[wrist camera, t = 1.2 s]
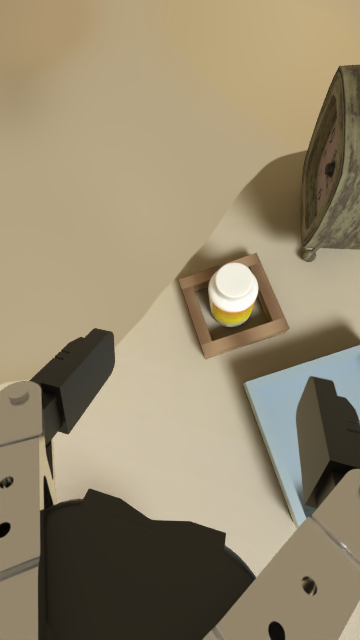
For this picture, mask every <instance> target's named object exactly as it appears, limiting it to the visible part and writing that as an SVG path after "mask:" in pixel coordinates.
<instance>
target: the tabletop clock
mask: <svg viewBox="0 0 360 640" xmlns="http://www.w3.org/2000/svg"><path fill="white" fill-rule="evenodd" d="M301 239H302V247H306V248H313V249H312V250H307V251H305V252H304V254H303V259H304V260H305V261H307V262H311V261H313V260H314V259H315V257H316V253H315V252H316V251H317V250H318V249H319V248H334V249H360V65H348V66H339V68H338V70H337V72H336V74H335V75H334V78H333V80H332V83H331V85H330V87H329V90H328V93H327V95H326V98H325V100H324V103H323V106H322V108H321V111H320V114H319V117H318V119H317V122H316V126H315V129H314V132H313V135H312V138H311V141H310V144H309V148H308V151H307V154H306V158H305V162H304V167H303V177H302V196H301Z"/></svg>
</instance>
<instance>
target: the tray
mask: <svg viewBox="0 0 360 640" xmlns="http://www.w3.org/2000/svg"><path fill="white" fill-rule="evenodd" d="M310 376H314V377H319V378H323V379H328V380H332V381H333V382H334V385H335V389H336V392H337V396H341V397H345V398H347V400H348V401H349V402H350V403H351V405H352V406H353V407H354V408H355V409H356V412H357V415H358V418H359V421H360V345H358V346H355V347H352V348H349V349H346V350H343V351H340V352H337V353H334V354H331V355H327V356H324V357H321V358H318V359H315V360H312V361H309V362H306V363H303V364H300V365H297V366H294V367H291V368H287V369H284V370H281V371H278V372H275V373H272V374H269V375H266V376H263V377H260V378H257V379H254V380H251V381H247V382H245V383H243V386H244V388H245V391H246V394H247V397H248V399H249V402H250V405H251V408H252V410H253V413H254V416H255V418H256V421H257V424H258V427H259V429H260V432H261V435H262V438H263V440H264V443H265V446H266V449H267V451H268V454H269V457H270V459H271V462H272V465H273V468H274V470H275V473H276V476H277V479H278V481H279V484H280V487H281V489H282V492H283V495H284V498H285V500H286V503H287V506H288V509H289V511H290V514H291V517H292V520H293V522H294V524H295V526H296V527H297V529H298V528H299V526H300V525H301V524H302V523H303V522H304V521H305V519H306V518H307V517H308V516H309V515H312V514H313V513H314V512H315V511H316V510H317V509H316V508H313V507H309V506H306V505H305V504H304V495H303V485H302V475H301V466H300V456H299V447H298V437H297V428H296V411H297V406H298V403H299V401H300V398H301V396H302V393H303V391H304V388H305V386H306V383H307V381H308V379H309V377H310Z"/></svg>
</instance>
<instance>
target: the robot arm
mask: <svg viewBox="0 0 360 640" xmlns="http://www.w3.org/2000/svg"><path fill="white" fill-rule="evenodd" d="M114 364H115V352H114V335H113V333H112V332H110V331H105V330H101V329H97V328H95V329H93V330H92V331H91V332H90V333H89V334H88V335H87V336H86V337H85V338H82V337H80V338H78V339H76V340H74V341H72V342H70V343H68V344H67V345H66V347H64V348H63V349H62V350H61V352H59V353H58V354H57V355H56V356H55V358H53V359H52V360H51V361H50V362H49V363H48V364H47V365H46V366H45V367H44V368H42V369H41V370H40V371H39V372H38V373H37V374H36V375H35V376H34V377H33V378H32V379H31V380H30V381H22V382H17V383H13V384H11V385H9V386H7V387H5V388H4V389H2V390H1V391H0V640H338V639H339V637H340V635H341V633H342V631H343V629H344V628H345V626H346V624H347V622H348V620H349V619H350V617H351V615H352V613H353V611H354V609H355V608H356V606H357V604H358V602H359V600H360V421H359V418H358V415H357V412H356V409H355V408H354V407H353V406H352V405H351V403H350V402H349V401H348V400H347V398H345V397H341V396H337V392H336V389H335V385H334V382H333V381H332V380H328V379H323V378H319V377H314V376H310V377H309V379H308V381H307V383H306V386H305V388H304V391H303V393H302V396H301V398H300V401H299V403H298V406H297V411H296V428H297V437H298V447H299V456H300V466H301V475H302V485H303V495H304V504H305V505H306V506H309V507H313V508H316V509H317V510H316V511H315V512H314V513H313V514H312V515H309V516H308V517H307V518H306V519H305V521H304V522H303V523H302V524H301V525H300V526H299V528H298V529H297V530H296V531H295V532H294V534H293V535H292V536H291V537H290V538H289V540H288V541H287V542H286V543H285V544H284V546H283V547H282V548H281V549H280V550H279V552H278V553H277V554H276V555H275V556H274V557H273V559H272V560H271V561H270V562H269V563H268V565H267V566H266V567H265V568H264V569H263V571H262V572H261V573H260V574H259V575H258V577H257V578H256V577H255V575H254V574H253V573H252V571H251V570H250V569H249V567H248V566H247V565H246V564H245V562H244V561H243V560H242V559H241V558H240V557H239V556H238V555H237V554H236V553H234V552H233V551H232V550H231V549H229V548H228V547H226V546H225V537H226V533H224V532H221V531H218V530H215V529H212V528H208V527H205V526H202V525H199V524H196V523H193V522H190V521H160V520H151V519H149V518H147V517H146V516H144V515H143V514H142V513H140V512H139V511H137V510H136V509H134V508H133V507H132V506H130V505H129V504H127V503H126V502H124V501H123V500H122V499H120V498H117V497H114V496H111V495H107V494H104V493H101V492H98V491H95V490H92V489H89V490H88V491H87V493H86V495H85V497H84V499H75V500H69V501H65V502H61V503H58V500H57V493H56V483H55V465H54V447H53V439H52V438H53V437H54V436H55V434H56V433H57V432H58V431H59V432H62V433H65V434H69V433H70V431H71V430H72V429H73V427H74V426H75V424H76V423H77V422H78V420H79V419H80V417H81V416H82V414H83V413H84V412H85V410H86V409H87V407H88V406H89V405H90V403H91V402H92V400H93V399H94V398H95V396H96V395H97V393H98V392H99V390H100V389H101V388H102V386H103V385H104V383H105V382H106V381H107V379H108V378H109V376H110V375H111V373H112V371H113V368H114Z"/></svg>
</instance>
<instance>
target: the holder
mask: <svg viewBox="0 0 360 640" xmlns="http://www.w3.org/2000/svg"><path fill="white" fill-rule="evenodd" d="M228 263H241V264H243V265H245V266H246V267H248V268H249V269H250V271H251V272H252V274H253V275H254V276H255V278H256V280H257V282H258V295H257V296H258V299H259V301H260V303H261V306H262V308H263V311H264V313H265V315H266V318H267V320H268V323H266V324H263V325H260V326H257V327H254V328H251V329H248V330H245V331H242V332H239V333H236V334H233V335H230V336H227V337H224V338H221V339H218V340H215V341H212V340H211V337H210V334H209V331H208V328H207V325H206V323H205V320H204V317H203V314H202V311H201V308H200V305H199V303H198V300H197V297H196V294H195V292H196V291H199V290H202V289H205V288H208V287H209V282H210V280H211V278H212V276H213V275H214V274H215V273H216V272H217V271H218V270H219V269H220V268H221V267H222V266H224V265H226V264H228ZM228 263H225V264H222V265H219V266H217V267H214V268H211V269H208V270H205V271H202V272H199V273H196V274H193V275H190V276H188V277H185V278H182V279H179V282H180V285H181V288H182V291H183V294H184V297H185V300H186V303H187V306H188V309H189V312H190V315H191V318H192V321H193V323H194V326H195V329H196V332H197V335H198V338H199V341H200V344H201V347H202V350H203V353H204V356H205V359H207V358H210V357H213V356H216V355H219V354H222V353H225V352H228V351H231V350H234V349H237V348H240V347H243V346H247V345H250V344H253V343H256V342H259V341H262V340H265V339H268V338H271V337H274V336H277V335H280V334H283V333H285V332H286V331H287V330H288V329H289V326H288V324H287V321H286V319H285V317H284V315H283V312H282V310H281V308H280V305H279V303H278V301H277V299H276V296H275V294H274V292H273V289H272V287H271V285H270V283H269V280H268V278H267V276H266V273H265V271H264V269H263V267H262V264H261V262H260V260H259V257H258V255H257V253H254V254H251V255H248V256H246V257H243V258H240V259H237V260H234V261H231V262H228Z"/></svg>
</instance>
